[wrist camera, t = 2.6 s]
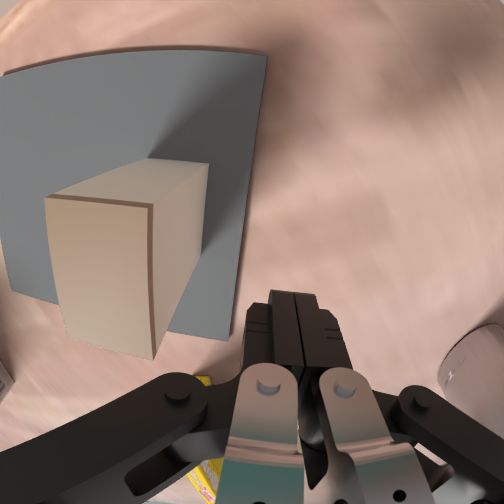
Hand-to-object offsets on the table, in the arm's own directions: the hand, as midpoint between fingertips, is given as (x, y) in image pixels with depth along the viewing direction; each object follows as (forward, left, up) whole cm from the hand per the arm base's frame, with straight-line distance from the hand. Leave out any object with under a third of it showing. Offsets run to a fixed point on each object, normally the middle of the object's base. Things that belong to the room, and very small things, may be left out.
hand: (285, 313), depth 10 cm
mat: (+13, 0, -10) cm, 16 cm away
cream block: (+7, 0, -9) cm, 11 cm away
